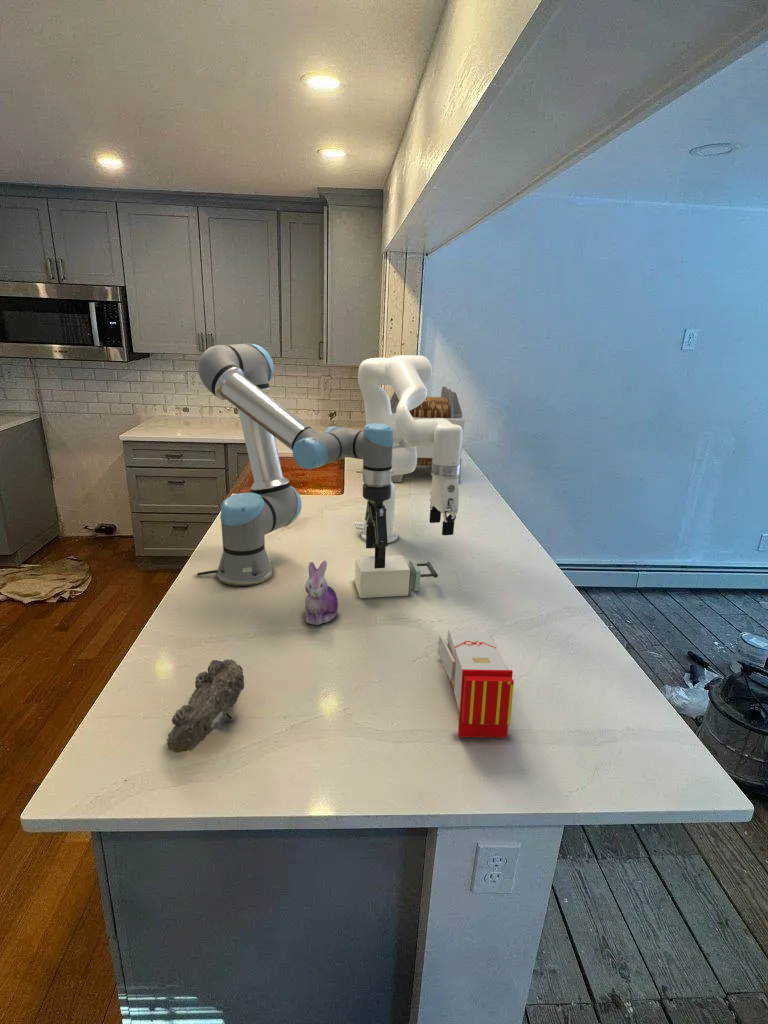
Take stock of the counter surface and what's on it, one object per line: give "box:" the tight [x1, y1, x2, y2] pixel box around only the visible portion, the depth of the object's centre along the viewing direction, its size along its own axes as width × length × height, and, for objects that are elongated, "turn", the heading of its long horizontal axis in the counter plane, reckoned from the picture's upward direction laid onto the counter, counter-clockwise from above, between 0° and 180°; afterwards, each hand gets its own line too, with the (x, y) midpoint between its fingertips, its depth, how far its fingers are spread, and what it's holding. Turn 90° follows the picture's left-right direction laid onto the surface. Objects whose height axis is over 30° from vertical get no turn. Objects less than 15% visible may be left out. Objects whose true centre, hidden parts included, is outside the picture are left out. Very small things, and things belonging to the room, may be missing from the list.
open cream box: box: [354, 554, 410, 599], centre depth 159 cm, size 14×10×8 cm
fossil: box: [166, 658, 245, 754], centre depth 106 cm, size 22×10×15 cm
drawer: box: [408, 558, 439, 592], centre depth 160 cm, size 18×8×6 cm, turn 101°
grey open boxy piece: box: [390, 386, 465, 483], centre depth 268 cm, size 34×33×41 cm
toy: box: [437, 628, 515, 738], centre depth 117 cm, size 12×13×30 cm
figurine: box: [304, 560, 339, 626], centre depth 142 cm, size 9×10×15 cm
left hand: (375, 557), depth 156 cm, fingers open, 13 cm apart
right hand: (441, 528), depth 160 cm, fingers open, 9 cm apart
